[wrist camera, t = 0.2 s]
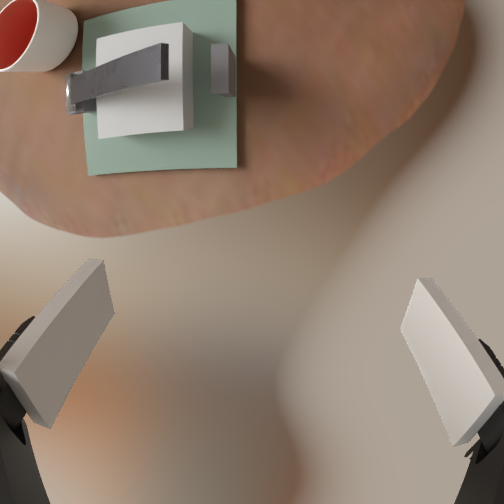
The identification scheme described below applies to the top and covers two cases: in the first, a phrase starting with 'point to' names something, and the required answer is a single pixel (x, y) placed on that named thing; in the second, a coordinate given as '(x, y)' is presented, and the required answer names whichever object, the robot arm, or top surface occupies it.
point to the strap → (119, 75)
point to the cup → (35, 36)
